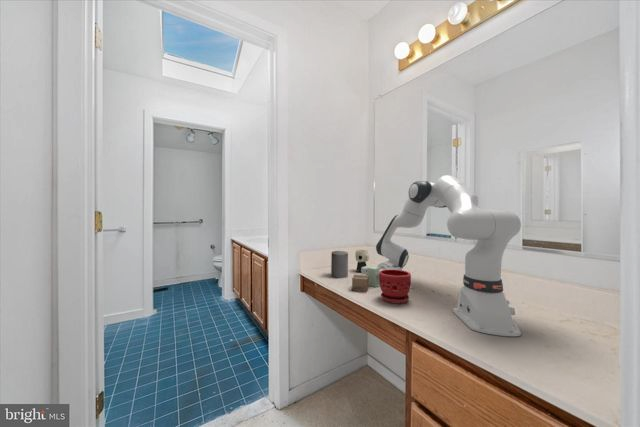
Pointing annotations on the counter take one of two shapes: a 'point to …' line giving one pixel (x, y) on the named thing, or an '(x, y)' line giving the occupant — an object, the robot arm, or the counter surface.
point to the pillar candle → (339, 264)
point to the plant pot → (395, 285)
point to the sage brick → (373, 276)
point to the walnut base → (360, 283)
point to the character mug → (361, 258)
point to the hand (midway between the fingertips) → (372, 275)
